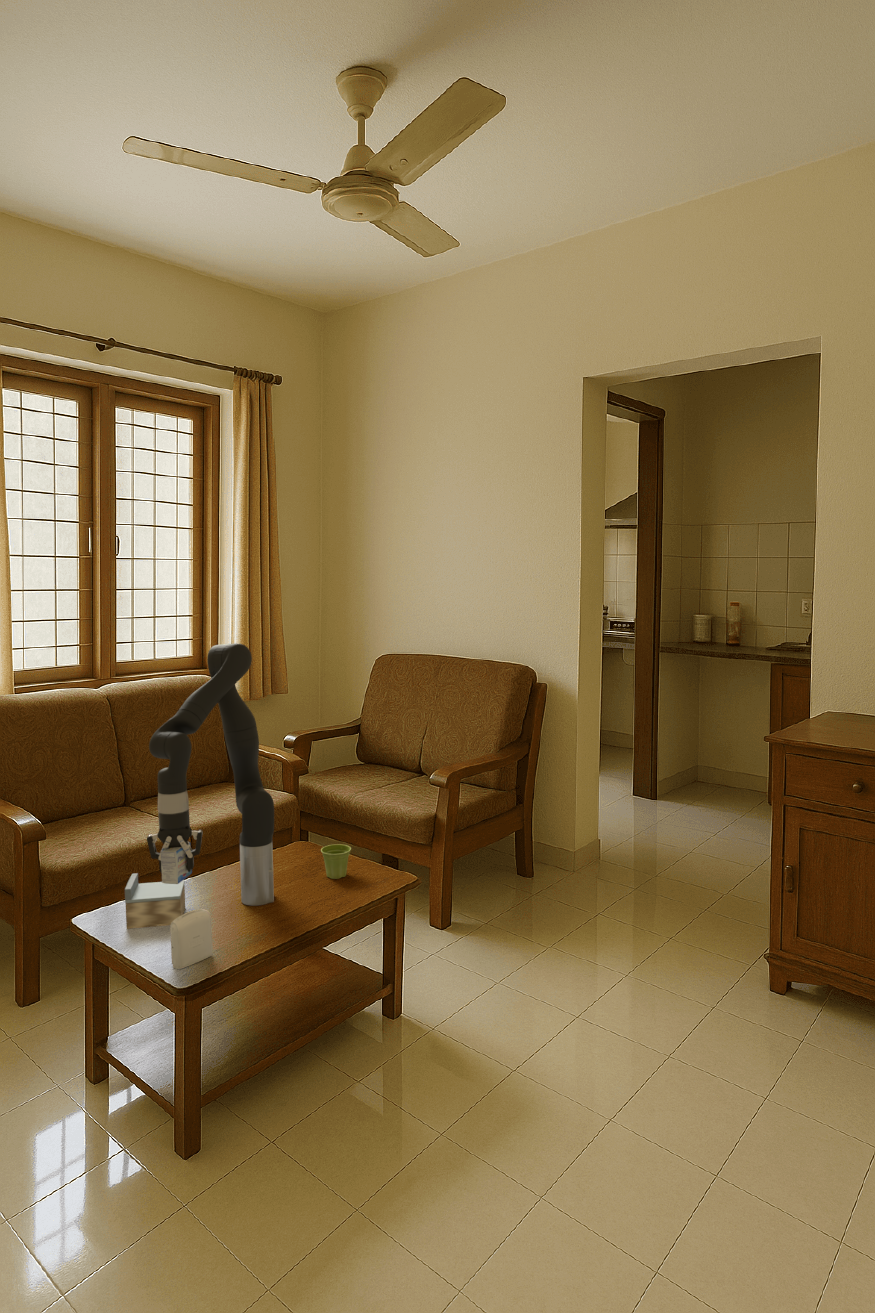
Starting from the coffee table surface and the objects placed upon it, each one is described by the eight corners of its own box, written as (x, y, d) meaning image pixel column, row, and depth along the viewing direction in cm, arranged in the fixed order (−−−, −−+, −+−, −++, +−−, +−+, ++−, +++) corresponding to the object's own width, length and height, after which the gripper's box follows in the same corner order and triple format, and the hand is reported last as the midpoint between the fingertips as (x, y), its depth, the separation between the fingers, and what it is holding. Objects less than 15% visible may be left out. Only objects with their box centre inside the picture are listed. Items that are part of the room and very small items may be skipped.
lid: (184, 883, 231) (184, 869, 231) (180, 899, 219) (179, 885, 219) (132, 886, 228) (132, 873, 228) (125, 903, 217) (124, 889, 216)
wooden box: (185, 908, 231) (184, 884, 231) (181, 924, 221) (180, 899, 220) (133, 912, 229) (132, 888, 228) (126, 929, 218) (125, 903, 217)
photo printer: (178, 971, 194) (176, 921, 193) (168, 966, 197) (166, 916, 195) (215, 956, 202) (214, 908, 201) (205, 951, 204) (204, 903, 203)
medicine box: (177, 884, 207) (176, 851, 206) (161, 883, 208) (160, 850, 207) (192, 873, 215) (191, 841, 214) (176, 872, 216) (175, 840, 215)
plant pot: (349, 881, 252) (349, 854, 251) (319, 881, 252) (318, 854, 251) (353, 870, 261) (352, 844, 260) (323, 870, 261) (323, 844, 261)
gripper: (203, 802, 215) (206, 864, 216) (146, 806, 212) (149, 869, 213) (201, 810, 207) (204, 874, 209) (142, 814, 204) (145, 880, 206)
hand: (176, 871), depth 211 cm, fingers closed on medicine box, 5 cm apart
